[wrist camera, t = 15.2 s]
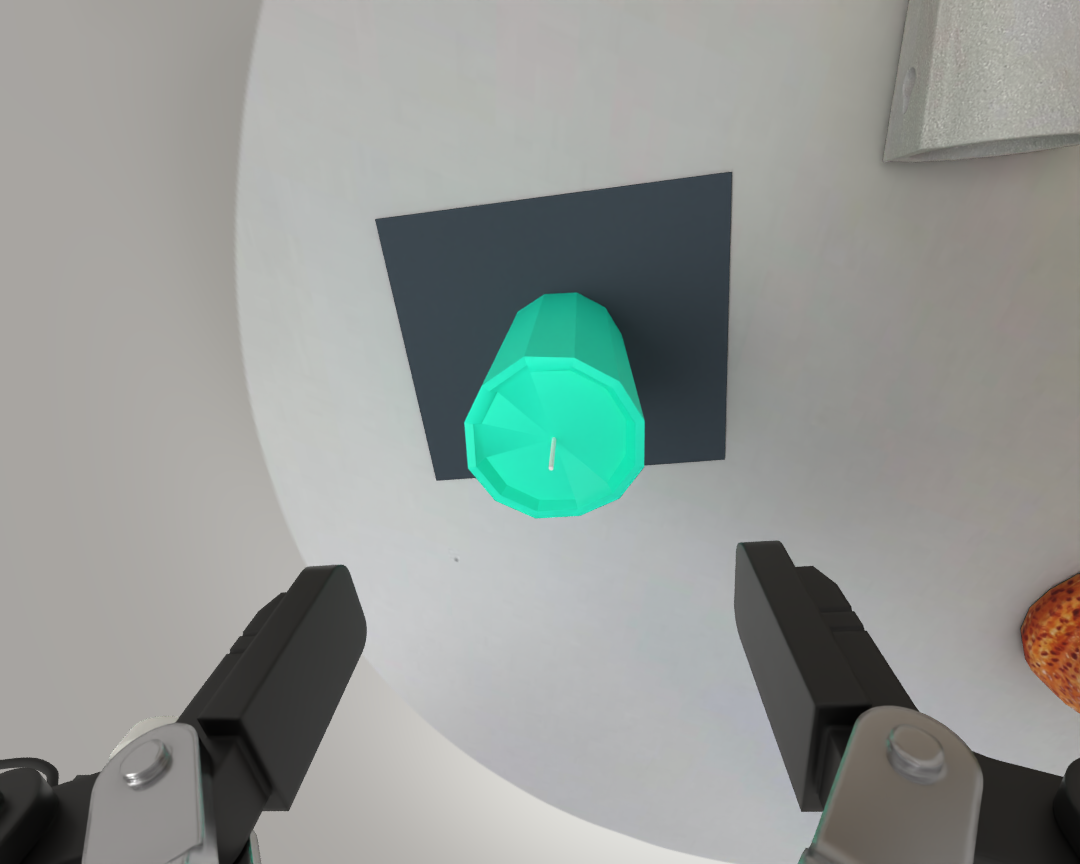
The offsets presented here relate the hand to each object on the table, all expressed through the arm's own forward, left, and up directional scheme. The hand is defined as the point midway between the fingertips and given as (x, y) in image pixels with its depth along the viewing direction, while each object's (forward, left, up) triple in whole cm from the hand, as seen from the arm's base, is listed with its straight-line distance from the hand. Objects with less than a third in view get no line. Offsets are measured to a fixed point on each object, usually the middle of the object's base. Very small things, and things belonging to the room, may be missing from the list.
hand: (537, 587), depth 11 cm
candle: (0, 0, -18) cm, 18 cm away
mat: (0, 0, -17) cm, 17 cm away
